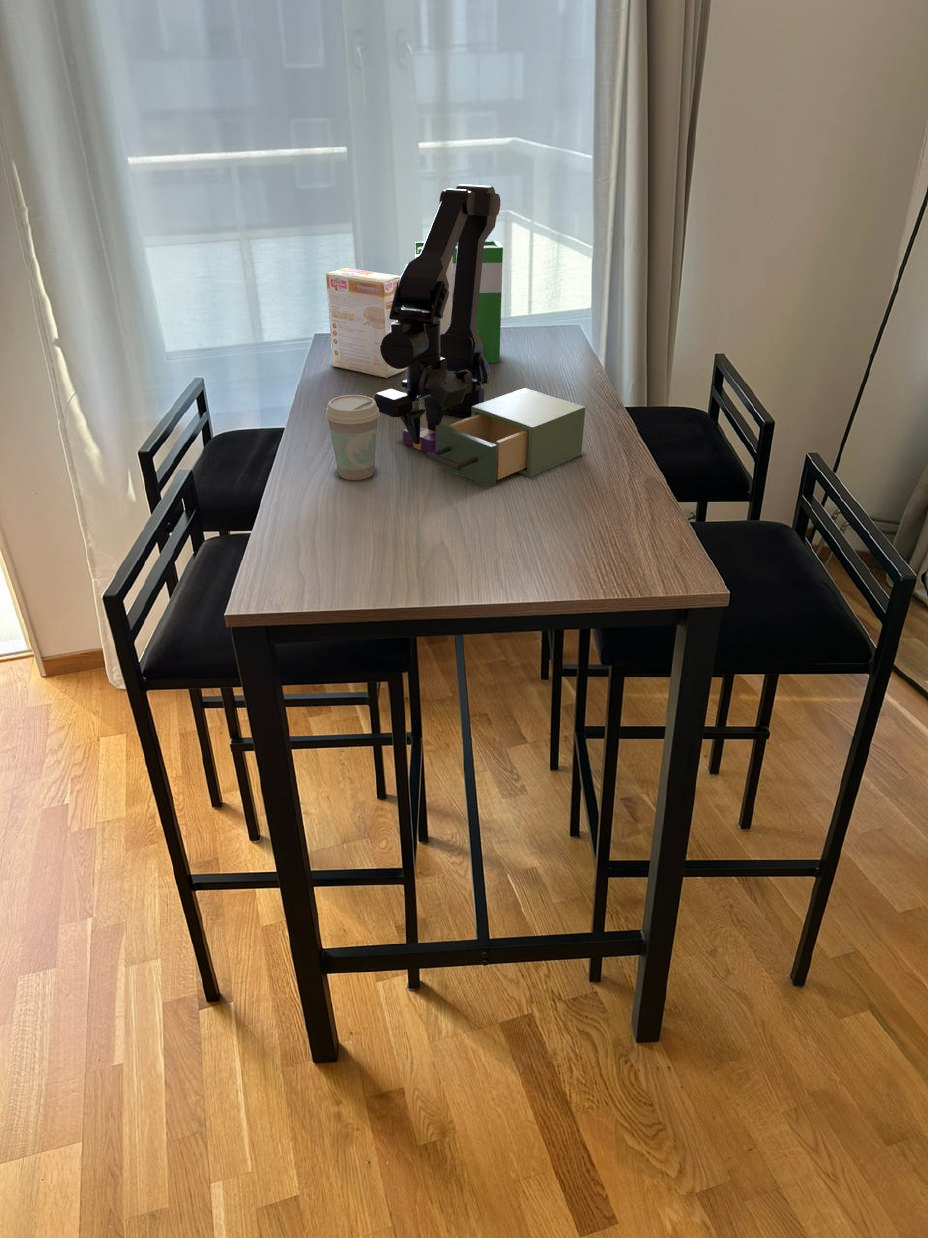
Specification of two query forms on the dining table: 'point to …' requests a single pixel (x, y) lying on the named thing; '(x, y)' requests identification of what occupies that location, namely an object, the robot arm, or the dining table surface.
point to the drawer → (481, 449)
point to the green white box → (486, 297)
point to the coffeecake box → (360, 319)
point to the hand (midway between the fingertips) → (424, 440)
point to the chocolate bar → (422, 440)
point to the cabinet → (540, 426)
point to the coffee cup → (353, 434)
